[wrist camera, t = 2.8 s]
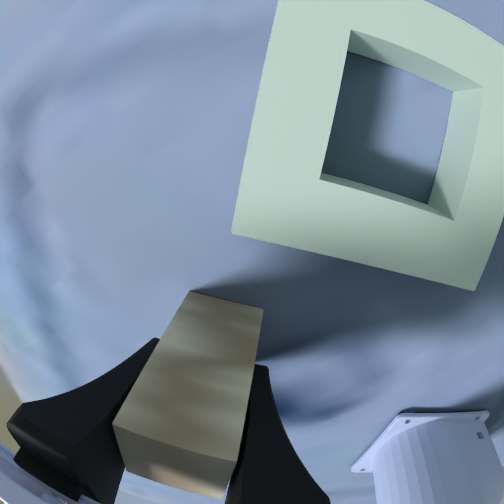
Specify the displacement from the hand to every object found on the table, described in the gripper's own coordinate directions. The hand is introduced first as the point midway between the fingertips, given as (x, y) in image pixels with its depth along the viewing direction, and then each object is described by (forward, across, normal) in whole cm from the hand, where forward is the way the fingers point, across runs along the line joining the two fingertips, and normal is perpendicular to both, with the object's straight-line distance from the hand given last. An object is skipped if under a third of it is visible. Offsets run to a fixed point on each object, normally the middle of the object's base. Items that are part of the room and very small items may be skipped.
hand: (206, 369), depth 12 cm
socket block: (+3, -5, -11) cm, 12 cm away
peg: (+3, 0, 0) cm, 3 cm away
